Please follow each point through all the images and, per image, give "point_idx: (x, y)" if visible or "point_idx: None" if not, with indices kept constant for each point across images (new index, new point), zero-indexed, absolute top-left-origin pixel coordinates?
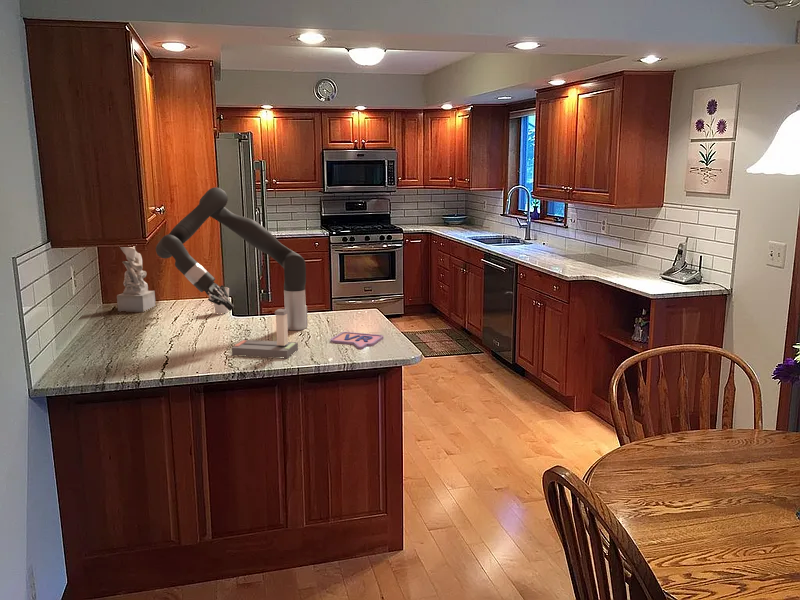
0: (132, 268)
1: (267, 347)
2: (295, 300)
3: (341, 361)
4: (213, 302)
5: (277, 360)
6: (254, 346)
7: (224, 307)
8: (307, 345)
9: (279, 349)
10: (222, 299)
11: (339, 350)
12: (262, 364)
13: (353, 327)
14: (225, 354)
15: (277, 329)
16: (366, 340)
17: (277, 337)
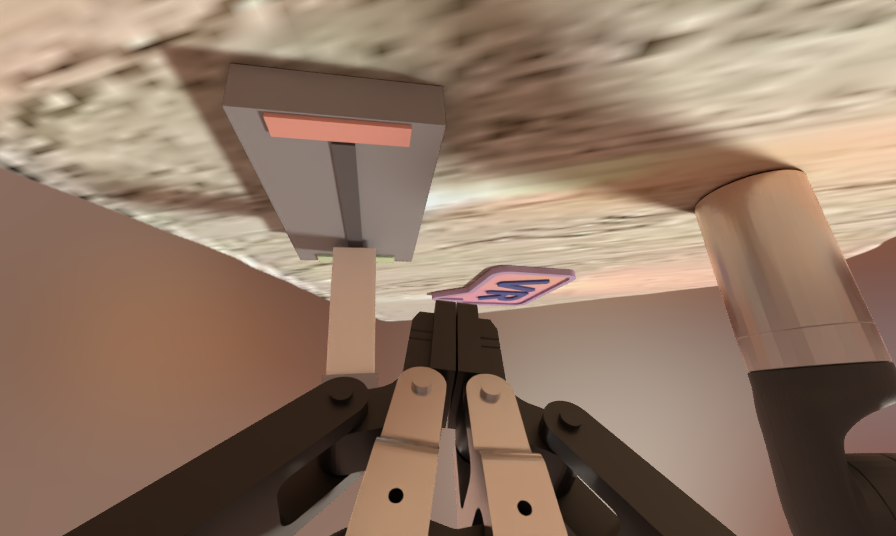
0: None
1: (317, 222)
2: (739, 327)
3: (328, 289)
4: (182, 472)
5: (268, 221)
6: (311, 189)
7: None
8: (466, 244)
9: (306, 247)
10: (347, 478)
11: (417, 280)
12: (188, 201)
13: (638, 274)
14: (225, 9)
15: (330, 311)
16: (483, 299)
17: (332, 278)
